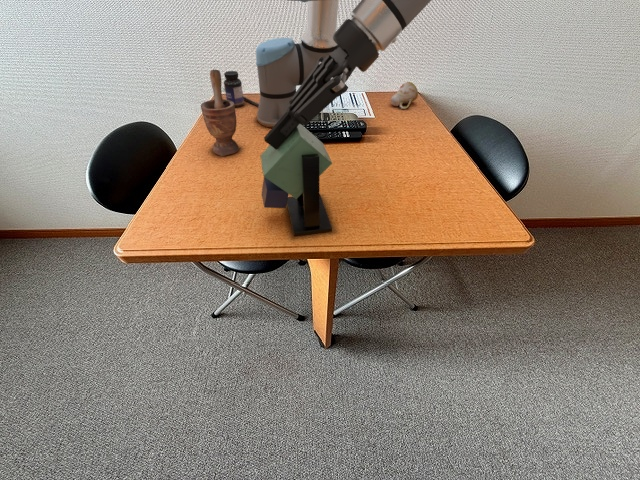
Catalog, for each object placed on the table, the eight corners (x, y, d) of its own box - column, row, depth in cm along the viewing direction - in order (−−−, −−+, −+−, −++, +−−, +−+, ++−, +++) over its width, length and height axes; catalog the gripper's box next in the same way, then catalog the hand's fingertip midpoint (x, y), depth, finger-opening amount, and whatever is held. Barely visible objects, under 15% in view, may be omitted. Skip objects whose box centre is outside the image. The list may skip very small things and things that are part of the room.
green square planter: (293, 117, 64) (260, 155, 68) (300, 136, 58) (263, 176, 62) (323, 143, 69) (290, 177, 72) (332, 163, 63) (296, 199, 66)
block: (267, 189, 66) (289, 190, 68) (263, 176, 69) (285, 177, 71) (264, 207, 69) (285, 208, 71) (261, 194, 72) (282, 195, 74)
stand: (319, 197, 80) (319, 127, 69) (332, 231, 71) (334, 157, 59) (286, 200, 79) (280, 130, 68) (294, 236, 69) (288, 161, 58)
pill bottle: (224, 104, 126) (218, 72, 118) (238, 100, 129) (233, 69, 121) (233, 109, 122) (227, 76, 115) (247, 105, 125) (243, 72, 118)
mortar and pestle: (205, 143, 102) (188, 71, 89) (233, 137, 105) (220, 66, 92) (215, 159, 94) (198, 83, 81) (245, 152, 97) (233, 78, 84)
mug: (383, 105, 125) (392, 77, 123) (401, 113, 131) (410, 86, 128) (398, 106, 119) (407, 76, 117) (416, 114, 125) (425, 86, 122)
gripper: (393, 63, 51) (290, 172, 60) (367, 44, 61) (281, 140, 69) (362, 24, 47) (255, 147, 55) (339, 9, 56) (251, 116, 65)
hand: (270, 143), depth 62 cm, fingers closed
